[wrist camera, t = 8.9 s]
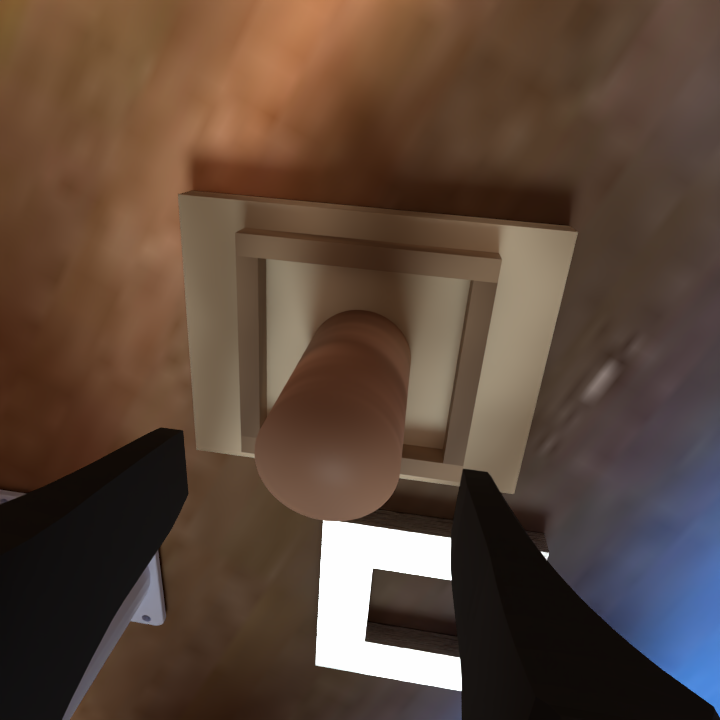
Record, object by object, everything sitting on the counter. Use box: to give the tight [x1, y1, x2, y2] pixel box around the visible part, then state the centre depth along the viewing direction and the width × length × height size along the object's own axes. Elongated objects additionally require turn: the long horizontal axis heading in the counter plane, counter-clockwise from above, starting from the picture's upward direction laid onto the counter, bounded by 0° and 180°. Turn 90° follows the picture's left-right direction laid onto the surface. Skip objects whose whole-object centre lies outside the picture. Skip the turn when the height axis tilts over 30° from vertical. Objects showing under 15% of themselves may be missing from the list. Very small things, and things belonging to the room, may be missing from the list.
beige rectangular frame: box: [178, 191, 578, 494], centre depth 20 cm, size 14×11×2 cm
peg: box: [254, 310, 411, 521], centre depth 17 cm, size 4×4×7 cm
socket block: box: [315, 509, 549, 691], centre depth 26 cm, size 10×10×1 cm
